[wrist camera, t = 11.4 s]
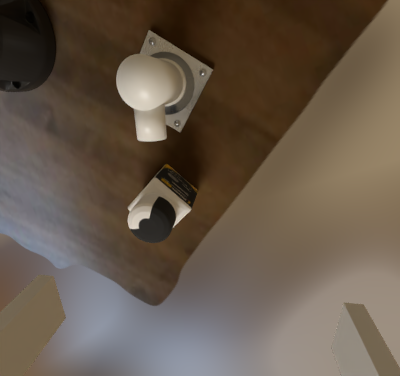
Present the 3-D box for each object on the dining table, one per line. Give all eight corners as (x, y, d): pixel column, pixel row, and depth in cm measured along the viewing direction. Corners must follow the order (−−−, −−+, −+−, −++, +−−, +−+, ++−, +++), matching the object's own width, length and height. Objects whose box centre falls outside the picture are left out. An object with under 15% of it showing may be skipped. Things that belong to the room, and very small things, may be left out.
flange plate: (124, 98, 39) (121, 98, 38) (150, 31, 35) (148, 29, 34) (181, 131, 40) (179, 132, 39) (213, 69, 36) (212, 69, 35)
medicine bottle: (198, 190, 43) (185, 227, 32) (172, 216, 46) (152, 258, 35) (166, 162, 42) (142, 191, 31) (142, 190, 45) (111, 226, 34)
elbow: (142, 59, 35) (109, 51, 26) (185, 58, 35) (167, 49, 26) (148, 127, 39) (121, 141, 30) (188, 127, 38) (172, 142, 29)
